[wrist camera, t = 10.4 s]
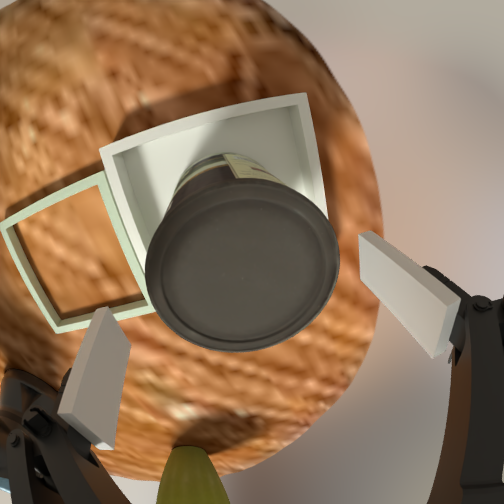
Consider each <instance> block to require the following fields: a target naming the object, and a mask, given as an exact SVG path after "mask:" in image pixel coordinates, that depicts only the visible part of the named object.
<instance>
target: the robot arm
mask: <svg viewBox="0 0 504 504" xmlns="http://www.w3.org/2000/svg"><path fill="white" fill-rule="evenodd" d="M358 237H359V256H360V280H361V281H362V282H363V283H364V284H365V285H366V286H367V287H368V288H369V289H370V290H371V291H372V292H373V293H374V294H375V295H376V296H377V297H378V299H379V300H380V301H381V302H382V303H383V304H384V305H385V306H386V307H387V308H388V309H389V310H390V311H391V313H392V314H393V315H394V316H395V317H396V318H397V319H398V320H399V321H400V322H401V323H402V325H403V326H404V327H405V328H406V329H407V330H408V331H409V332H410V334H411V335H412V336H413V337H414V338H415V339H416V340H417V342H418V343H419V344H420V345H421V346H422V347H423V348H424V350H425V351H426V352H427V353H428V354H429V356H430V357H431V358H432V359H433V358H435V357H436V356H438V355H440V354H441V353H443V352H445V351H446V348H447V345H448V342H449V341H450V342H451V343H452V344H453V345H454V346H453V349H452V352H451V355H450V357H449V360H448V363H450V362H451V359H452V370H451V387H450V398H449V407H448V415H447V422H446V429H445V435H444V441H443V446H442V451H441V455H440V460H439V464H438V468H437V472H436V476H435V480H434V483H433V487H432V490H431V493H430V497H429V500H428V502H427V504H504V483H503V482H502V471H503V464H504V296H503V298H502V299H498V300H495V301H491V300H490V299H489V298H487V297H485V296H480V295H477V296H473V297H471V296H470V295H469V294H467V293H466V292H465V291H464V290H462V289H461V288H460V287H459V286H457V285H456V284H455V283H453V282H452V281H450V280H449V279H448V278H447V277H446V276H444V275H443V274H442V273H440V272H439V271H438V270H436V269H434V268H431V267H429V266H423V267H421V266H419V265H418V264H417V263H416V262H414V261H413V260H412V259H410V258H409V257H407V256H406V255H405V254H403V253H402V252H401V251H399V250H398V249H397V248H395V247H394V246H392V245H391V244H390V243H388V242H387V241H385V240H384V239H382V238H381V237H380V236H378V235H377V234H375V233H374V232H372V231H367V232H364V233H361V234H358ZM130 349H131V344H130V342H129V341H128V339H127V337H126V336H125V334H124V332H123V331H122V329H121V328H120V326H119V324H118V322H117V321H116V319H115V317H114V316H113V314H112V312H111V310H110V309H109V307H108V306H106V307H102V308H99V309H96V311H95V313H94V315H93V317H92V320H91V322H90V324H89V327H88V329H87V331H86V334H85V336H84V339H83V341H82V344H81V346H80V349H79V351H78V354H77V356H76V359H75V362H74V364H73V367H72V368H70V369H69V370H68V371H67V373H66V374H65V376H64V377H63V380H62V383H61V387H60V389H59V393H58V392H56V391H55V390H54V389H53V388H52V387H50V386H49V385H48V384H46V383H45V382H43V381H42V380H40V379H39V378H37V377H35V376H33V375H31V374H29V373H27V372H24V371H21V370H17V369H10V370H8V371H7V372H6V373H5V375H4V377H3V379H2V382H1V392H0V489H1V490H3V491H5V492H8V493H10V494H11V499H12V504H131V503H130V501H129V500H128V499H127V498H126V496H125V495H124V494H123V493H122V491H121V490H120V489H119V487H118V486H117V485H116V484H115V482H114V481H113V479H112V478H111V477H110V475H109V474H108V472H107V471H106V470H105V468H104V467H103V465H102V464H101V462H100V461H99V459H98V458H97V456H96V455H95V453H94V452H93V451H92V450H90V447H91V443H92V444H93V445H94V446H95V447H97V448H98V449H99V450H114V445H115V436H116V428H117V421H118V414H119V408H120V401H121V395H122V389H123V384H124V378H125V373H126V368H127V363H128V358H129V353H130Z"/></svg>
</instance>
